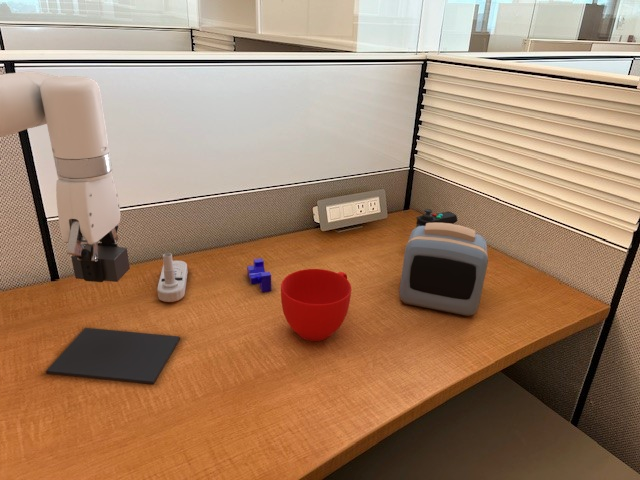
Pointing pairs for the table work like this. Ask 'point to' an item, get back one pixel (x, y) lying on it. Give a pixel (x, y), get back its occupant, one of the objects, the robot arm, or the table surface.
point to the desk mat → (115, 356)
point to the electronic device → (172, 279)
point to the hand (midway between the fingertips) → (102, 271)
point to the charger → (106, 262)
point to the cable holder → (259, 275)
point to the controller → (436, 218)
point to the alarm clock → (444, 268)
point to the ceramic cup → (315, 302)
